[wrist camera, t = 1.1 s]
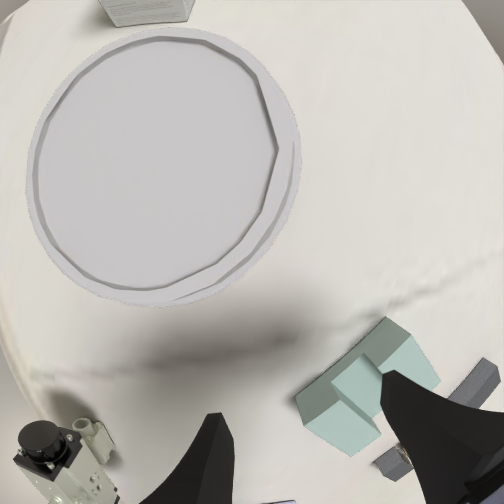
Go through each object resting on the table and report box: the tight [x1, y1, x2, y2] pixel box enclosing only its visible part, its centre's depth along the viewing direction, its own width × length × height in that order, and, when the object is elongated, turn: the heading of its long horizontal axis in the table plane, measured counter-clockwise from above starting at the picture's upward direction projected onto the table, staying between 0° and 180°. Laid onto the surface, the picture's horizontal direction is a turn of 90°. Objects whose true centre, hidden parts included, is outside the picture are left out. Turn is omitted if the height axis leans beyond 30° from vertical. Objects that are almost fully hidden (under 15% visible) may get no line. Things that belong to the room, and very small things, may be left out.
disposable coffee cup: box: [26, 27, 302, 308], centre depth 12 cm, size 10×10×12 cm
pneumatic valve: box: [13, 418, 120, 504], centre depth 15 cm, size 6×12×12 cm, turn 6°
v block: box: [295, 317, 441, 457], centre depth 19 cm, size 7×10×4 cm
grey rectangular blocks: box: [375, 357, 501, 482], centre depth 21 cm, size 4×18×3 cm, turn 133°
